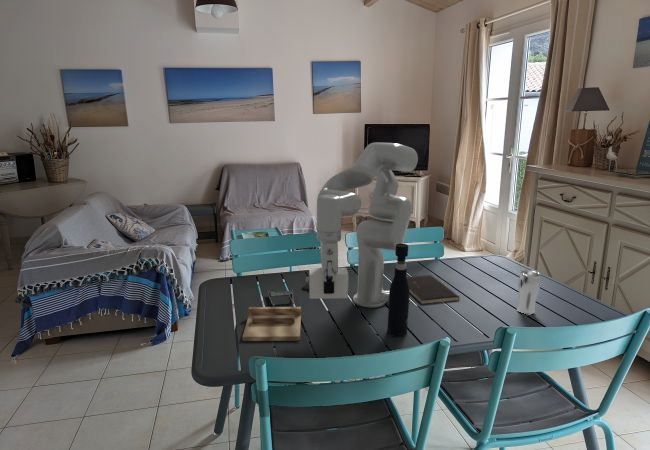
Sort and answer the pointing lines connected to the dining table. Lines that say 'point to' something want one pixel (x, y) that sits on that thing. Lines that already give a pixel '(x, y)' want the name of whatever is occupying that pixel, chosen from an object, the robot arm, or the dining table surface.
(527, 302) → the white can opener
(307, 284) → the remote control
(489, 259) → the dining table surface
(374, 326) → the dining table surface
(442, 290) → the hardcover book
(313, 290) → the light grey block
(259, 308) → the cleat board
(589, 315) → the dining table surface
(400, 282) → the black bottle
